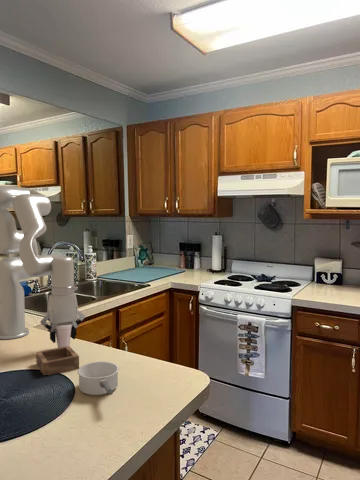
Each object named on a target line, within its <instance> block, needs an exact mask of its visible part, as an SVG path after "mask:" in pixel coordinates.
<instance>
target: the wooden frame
mask: <svg viewBox="0 0 360 480" xmlns="http://www.w3.org/2000/svg"><path fill="white" fill-rule="evenodd" d="M35 354H36V357H35V358H36V361H35V363H36V366H37V367H38V369H39V370H40V373H43V374H42V375H48V376H51V375H57V374H60V373H65V372H70V371H74V370H78V369H79V368H80V355H78V353H77V352H76V351H75V350H74V349H73V348H72V347H71V346H70V345H69V346H66V347H61V348H58V347H56V348H51V349H45V350H39V351H36V352H35Z"/></svg>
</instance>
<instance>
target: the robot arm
mask: <svg viewBox="0 0 360 480" xmlns="http://www.w3.org/2000/svg"><path fill="white" fill-rule="evenodd" d="M8 208H10V209H11V208H13V210H14V213H15V215H16V218H17V221H18V223H19V225H20V228H21V230H19V229H17V225H16V219H15V217H14V216H13V215H12V213H11V212H10V211H9V210H8ZM51 210H52V204H51V201H50V199H49V198H48V196H46V195H45V194H43V193H41V192H39V191H36V190H34V189H32V188H30V187H29V188H28V187H20V186H8V185H7V186H6V185H0V254H2V255H15V254H18V255H19V256H10V257H4V258H1V259H0V340H12V339H17V338H21V337H22V338H23V337H25V336H27V335H28V334H29V333H30V329H29V328H28V327H26V324H25V323H26V321H25V320H26V318H25V317H26V314H25V311H26V310H25V306H26V304H25V289H24V287H23V286H22V284H21V283H20V280H25V279H32V278H39V277H45V276H51V294H50V295H48V301H47V314H46V315H45V316H44V317H43V318H42V319H41V320H40V321H39V323H40V324H41V325H42V326H43V327H44V328H45V329H47V330H48V331H49V340H50V341H51V342H52V343H53V344H55V343H57V339H56V332H55V327H56V324H60V323H66V322H71V323H72V327H71V336H70V338H72V339H73V340H75V339H76V337H77V329H78V326H79V325H80V324H81V323H82V321H83V320H84V319H85V317H86V315H84V313H82V312H81V311H80V310H79V308H78V307H79V306H78V299H77V295H76V293H75V291H78V286H75V285H74V283H75V281H74V276H75V273H74V271H75V270H74V259H73V258H72V257H71V256H67V255H65V256H64V255H63V256H62V255H60V254H57V253H55V254H54V253H53V254H44V255H43V254H42V255H39V249H38V243H37V238H39V237H40V236H42V235H43V234H45V233H46V231H47V229H48V228H47V225H46V223H45V220H44V218H43V216H48V215H49V214H50V212H51ZM47 321H48V322H49V324H48V323H47Z"/></svg>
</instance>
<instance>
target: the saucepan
mask: <svg viewBox="0 0 360 480" xmlns="http://www.w3.org/2000/svg"><path fill="white" fill-rule="evenodd" d="M119 370H120V367H119V365H118V364H116V363H114V362H112V361H103V360H101V361H93V362H88V363H86V364H83V365H81V366H79V369H77V375H78V386H79V390H80V391H81V393H84V394H87V395H90V396H102V395H106V394H108V395H109V396H111V395H113V393H114V392H113V391H114V390H115V389H116V388H117V387H118V384H119V382H118V381H119V380H118V379H119V377H118V376H119V373H118V371H119Z"/></svg>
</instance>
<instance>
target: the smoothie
mask: <svg viewBox="0 0 360 480" xmlns="http://www.w3.org/2000/svg"><path fill="white" fill-rule="evenodd" d="M71 327H72V323H71V322H66V323H60V324H56V327H55V329H54V331H55V332H56V345H57V348H61V347H66V346H70V343H71Z"/></svg>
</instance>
